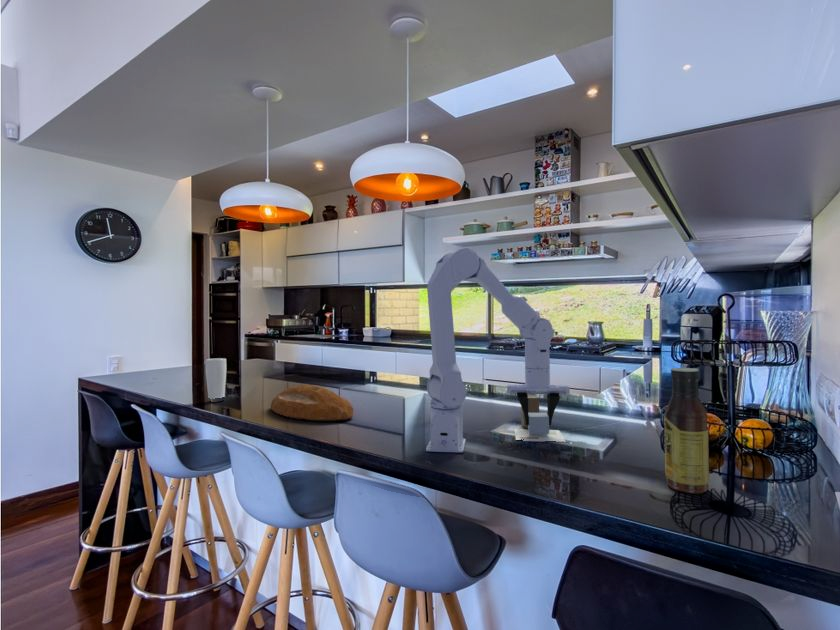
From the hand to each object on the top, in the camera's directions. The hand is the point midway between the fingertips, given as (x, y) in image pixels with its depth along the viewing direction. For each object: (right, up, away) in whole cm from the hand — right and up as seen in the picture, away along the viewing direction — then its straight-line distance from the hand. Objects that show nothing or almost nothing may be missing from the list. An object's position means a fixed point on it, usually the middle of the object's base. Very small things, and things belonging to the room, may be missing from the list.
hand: (538, 424), depth 108 cm
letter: (0, -3, 0) cm, 3 cm away
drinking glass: (-100, -5, +50) cm, 112 cm away
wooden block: (0, -3, +8) cm, 9 cm away
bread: (-62, -4, +29) cm, 68 cm away
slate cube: (0, -2, 0) cm, 2 cm away
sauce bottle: (+16, -3, -34) cm, 37 cm away
